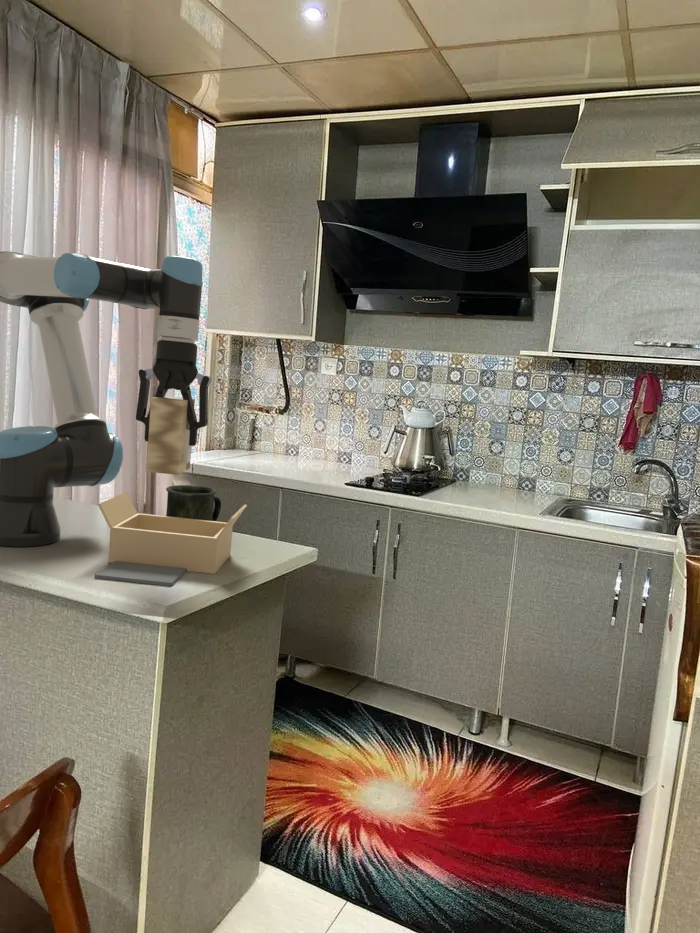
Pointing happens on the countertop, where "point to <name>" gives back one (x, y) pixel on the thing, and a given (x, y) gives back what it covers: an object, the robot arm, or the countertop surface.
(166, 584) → the mat
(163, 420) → the block
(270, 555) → the countertop surface
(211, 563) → the carton
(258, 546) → the countertop surface
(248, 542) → the countertop surface
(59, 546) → the countertop surface
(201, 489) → the mug
